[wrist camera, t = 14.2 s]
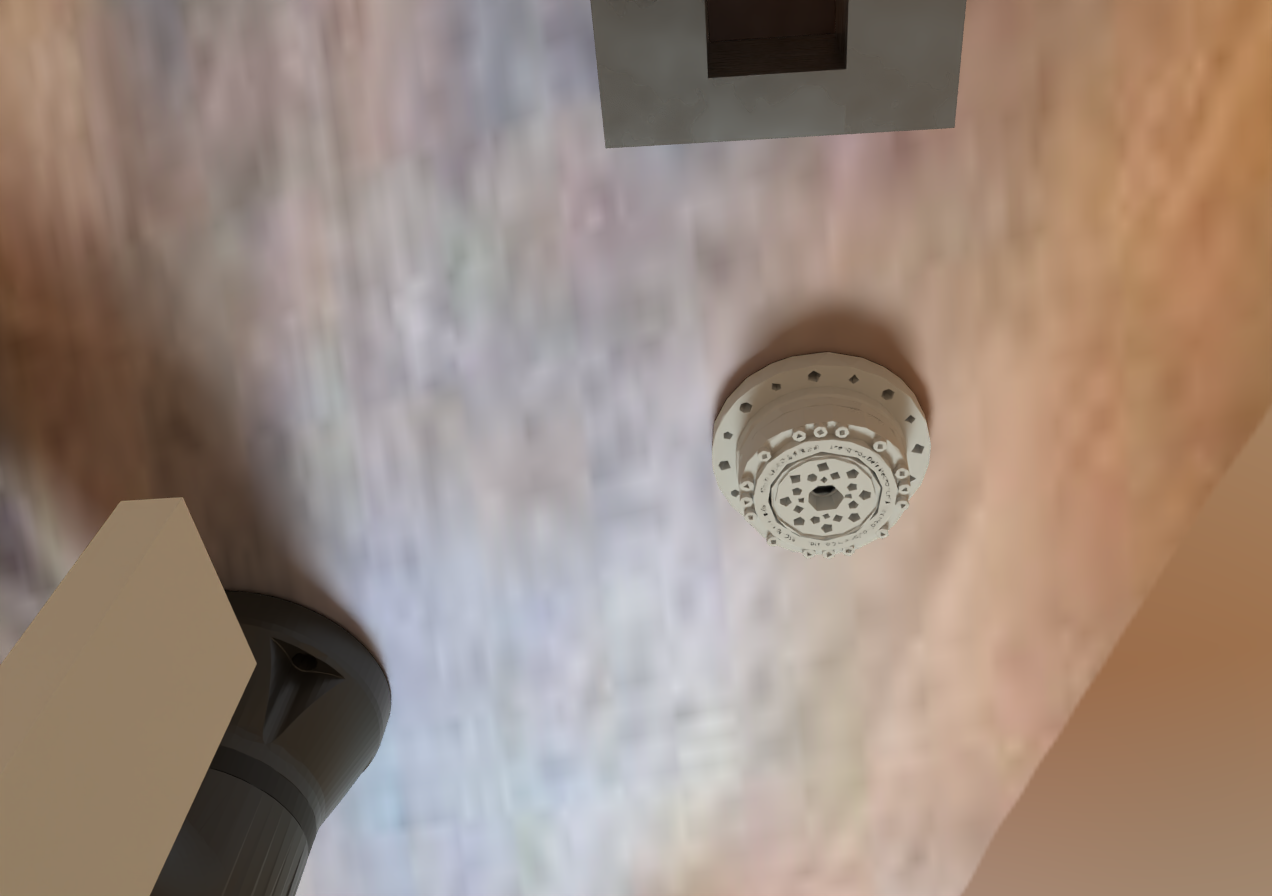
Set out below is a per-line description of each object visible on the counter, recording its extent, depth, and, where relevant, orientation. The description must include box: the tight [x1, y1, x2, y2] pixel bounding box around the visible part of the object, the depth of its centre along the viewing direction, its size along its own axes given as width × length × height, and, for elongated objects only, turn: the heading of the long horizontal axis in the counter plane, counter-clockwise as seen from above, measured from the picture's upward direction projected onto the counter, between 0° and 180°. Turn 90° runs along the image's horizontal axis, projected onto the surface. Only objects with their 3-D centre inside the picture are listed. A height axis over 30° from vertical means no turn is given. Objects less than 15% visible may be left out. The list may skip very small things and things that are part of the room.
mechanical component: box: [712, 352, 931, 559], centre depth 48 cm, size 10×4×10 cm
